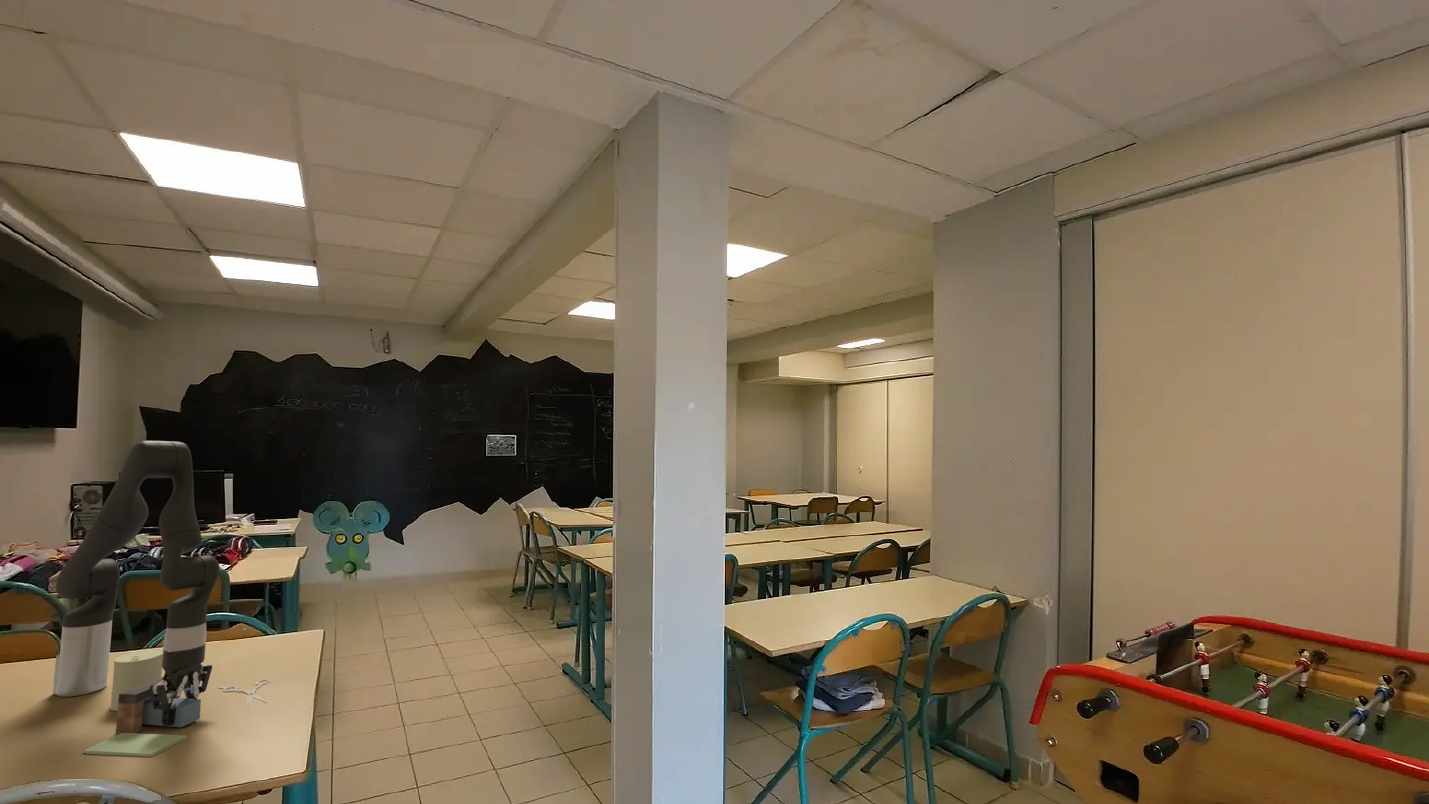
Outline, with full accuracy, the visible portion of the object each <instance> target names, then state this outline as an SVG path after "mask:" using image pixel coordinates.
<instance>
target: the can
mask: <svg viewBox="0 0 1429 804" xmlns="http://www.w3.org/2000/svg"><path fill="white" fill-rule="evenodd" d="M162 658H163V650H161V649H147V650H139V651H134V652H133V651H132V652H129V653H125V654H122V655H120V656H118V657H115V658H114V661H113V664H114V665H113V677H112V690H111V691H112V692H111V700H110V706H109V709H110V710H111V711H115V712H118V700H119V694H120V693H122V692H125V691H128V690H130V689H133V688H135V687H138V686H140V685H143V684H145V683H148V682H150V681H153V680H155V679H158V678H160V677H162V672H163V670H162V669H163V668H162Z"/></svg>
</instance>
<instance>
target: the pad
mask: <svg viewBox="0 0 1429 804" xmlns="http://www.w3.org/2000/svg"><path fill="white" fill-rule="evenodd" d="M186 739H187V735H184V734H183V735H177V734H159V733H157V734H156V733H155V734H154V733H137V732H135V733H117V735H114V736H113V737H112V736H111V737H110V738H107V739H105V740H103V741H101V742H99V743H97V744H94V745H92V746H90V747H88V748H86V749H84V750H83V751H82V754H83V753H86V754H85V755H103V756H105V755H107V756H122V757H123V756H129V757H130V756H131V757H145V758H146V757H148V758H150V757H153V756H156V755H158V754H159V753H161V752H164V751H165V750H167V749H169V748H171V747H173V746H174V745H176V744H179V743H180V742H182V741H184V740H186Z"/></svg>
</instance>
